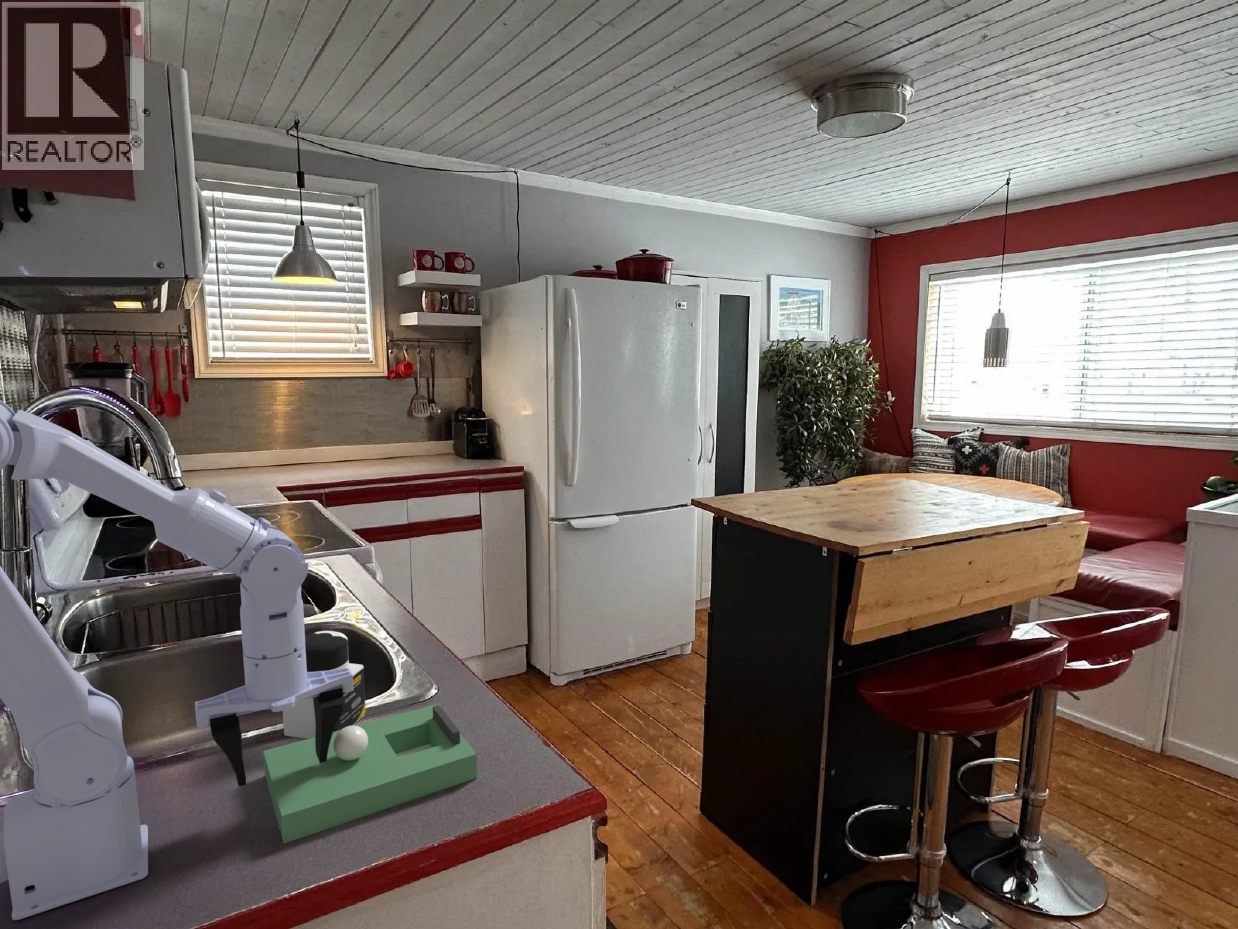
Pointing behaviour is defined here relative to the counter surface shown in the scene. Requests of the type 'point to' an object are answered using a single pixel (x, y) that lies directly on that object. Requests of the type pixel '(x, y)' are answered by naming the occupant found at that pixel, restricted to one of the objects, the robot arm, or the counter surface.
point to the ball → (350, 743)
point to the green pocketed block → (367, 772)
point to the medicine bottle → (324, 656)
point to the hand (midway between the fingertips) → (282, 769)
